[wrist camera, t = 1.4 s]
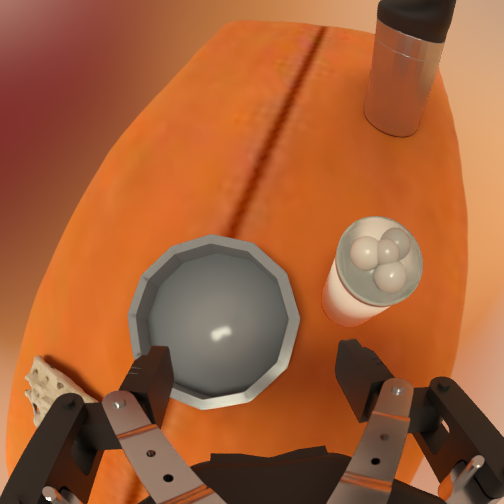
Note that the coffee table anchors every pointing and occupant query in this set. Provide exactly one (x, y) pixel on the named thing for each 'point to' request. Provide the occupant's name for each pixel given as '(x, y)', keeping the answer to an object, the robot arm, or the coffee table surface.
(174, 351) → the bowl
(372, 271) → the pebble cup
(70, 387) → the coral
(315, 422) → the coffee table surface
